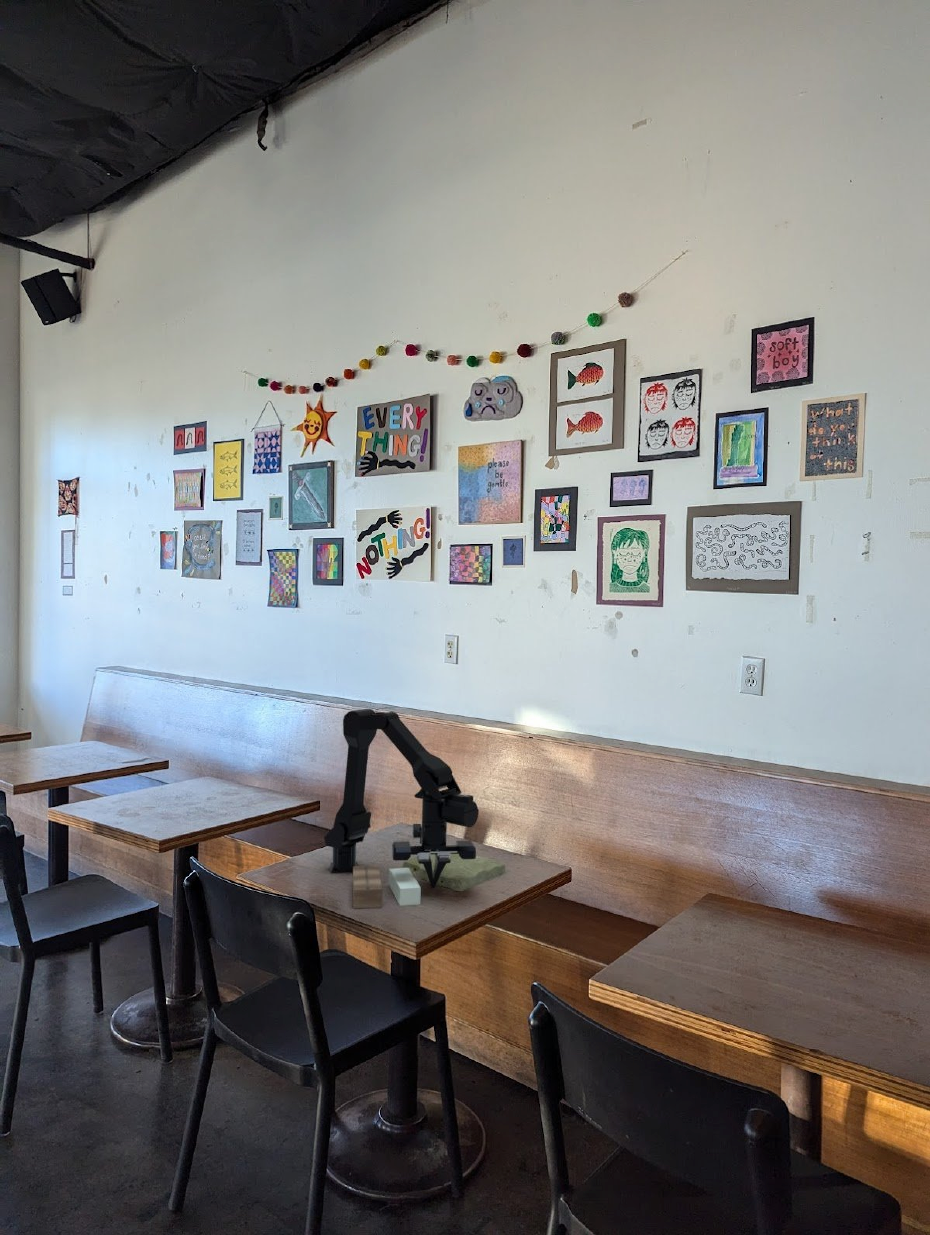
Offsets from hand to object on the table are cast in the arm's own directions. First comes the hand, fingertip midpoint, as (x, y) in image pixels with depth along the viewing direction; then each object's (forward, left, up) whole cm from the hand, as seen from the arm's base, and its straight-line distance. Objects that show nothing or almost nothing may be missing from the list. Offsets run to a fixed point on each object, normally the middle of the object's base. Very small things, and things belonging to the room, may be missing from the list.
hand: (432, 887), depth 195 cm
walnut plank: (0, -15, -1) cm, 15 cm away
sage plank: (0, -6, -2) cm, 7 cm away
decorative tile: (-14, +6, -2) cm, 15 cm away
